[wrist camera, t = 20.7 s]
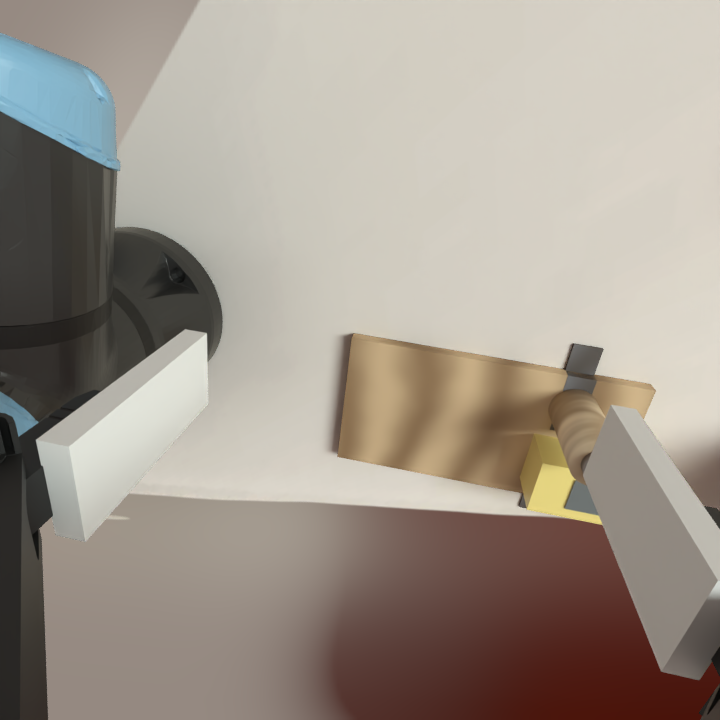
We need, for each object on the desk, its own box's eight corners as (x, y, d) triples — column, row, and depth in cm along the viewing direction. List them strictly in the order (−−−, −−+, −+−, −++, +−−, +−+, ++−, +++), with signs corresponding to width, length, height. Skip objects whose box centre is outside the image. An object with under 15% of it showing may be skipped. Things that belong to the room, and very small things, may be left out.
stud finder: (519, 477, 46) (527, 510, 42) (534, 433, 44) (543, 464, 40) (595, 491, 46) (610, 527, 42) (613, 448, 44) (631, 481, 39)
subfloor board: (337, 469, 51) (334, 476, 50) (357, 307, 43) (354, 311, 42) (592, 520, 49) (595, 529, 47) (661, 358, 41) (667, 364, 40)
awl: (543, 424, 44) (579, 532, 32) (555, 385, 42) (598, 484, 30) (589, 432, 43) (643, 544, 31) (603, 393, 42) (666, 496, 30)
